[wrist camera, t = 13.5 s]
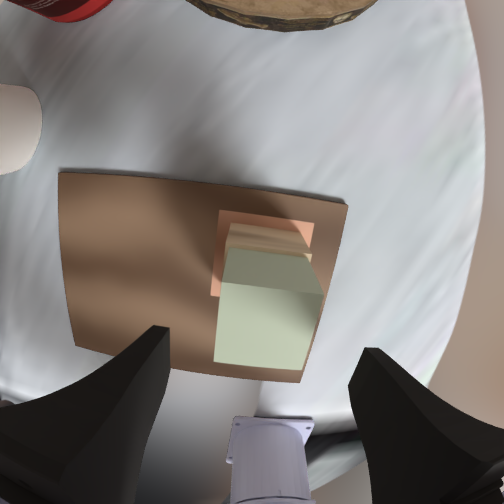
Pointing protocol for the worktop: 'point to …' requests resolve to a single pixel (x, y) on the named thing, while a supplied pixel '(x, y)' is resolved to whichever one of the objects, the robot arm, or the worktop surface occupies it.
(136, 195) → the brown flat board
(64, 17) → the canned food
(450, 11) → the worktop surface
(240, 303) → the sage cube
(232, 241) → the maple brick
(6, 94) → the cylindrical container
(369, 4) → the wood slice
